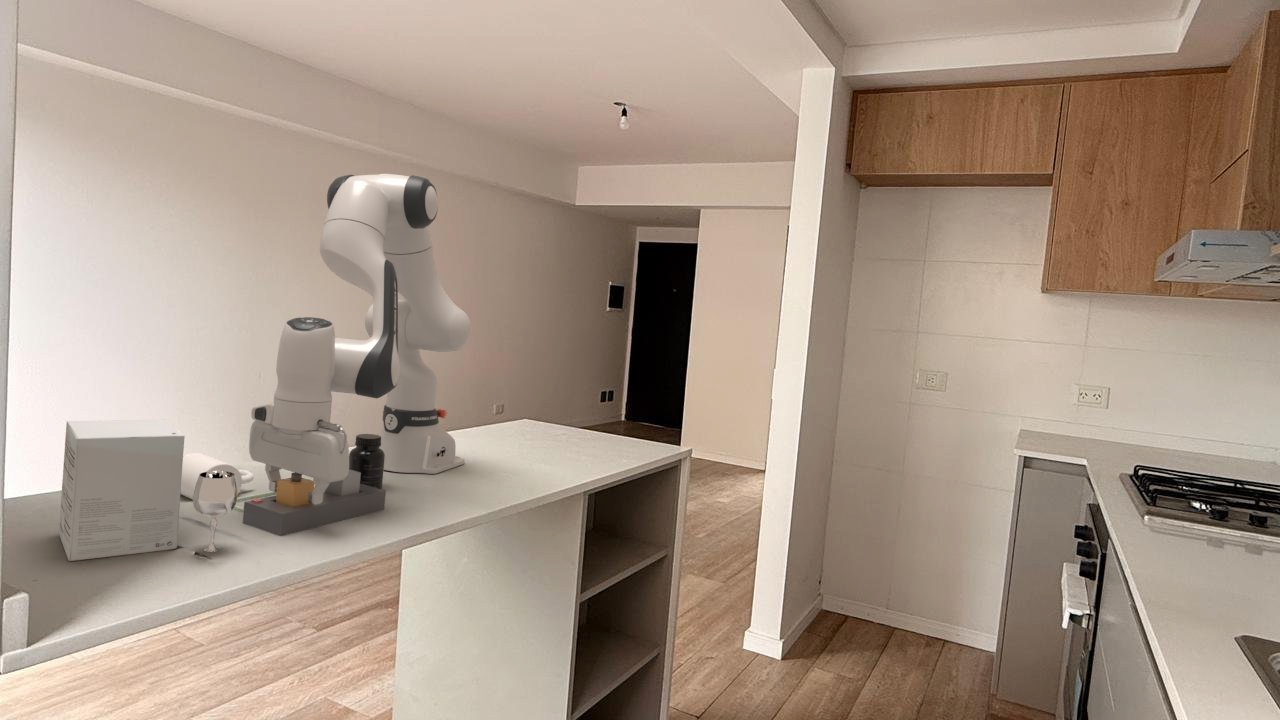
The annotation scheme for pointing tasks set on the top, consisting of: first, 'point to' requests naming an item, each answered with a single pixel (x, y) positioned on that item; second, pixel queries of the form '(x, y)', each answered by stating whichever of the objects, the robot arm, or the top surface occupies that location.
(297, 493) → the plug
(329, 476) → the robot arm
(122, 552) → the supplement box
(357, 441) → the supplement bottle
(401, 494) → the top surface
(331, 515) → the strip
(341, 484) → the gray knobbed block
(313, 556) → the top surface
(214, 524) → the wineglass
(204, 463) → the mug
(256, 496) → the tray
